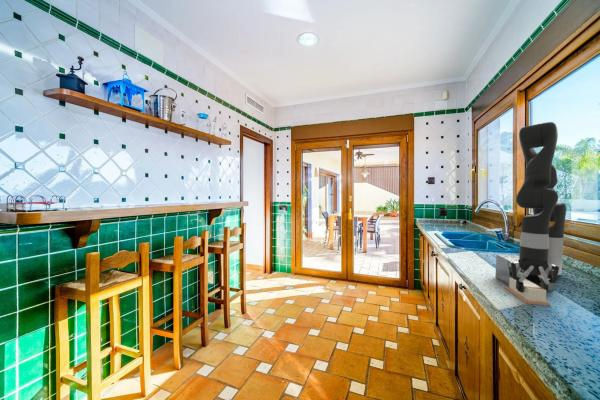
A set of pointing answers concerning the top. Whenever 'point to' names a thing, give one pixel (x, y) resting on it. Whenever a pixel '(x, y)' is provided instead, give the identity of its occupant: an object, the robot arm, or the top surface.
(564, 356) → the top surface
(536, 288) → the cream box
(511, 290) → the tile
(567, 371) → the top surface
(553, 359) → the top surface
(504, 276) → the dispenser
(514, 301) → the top surface
